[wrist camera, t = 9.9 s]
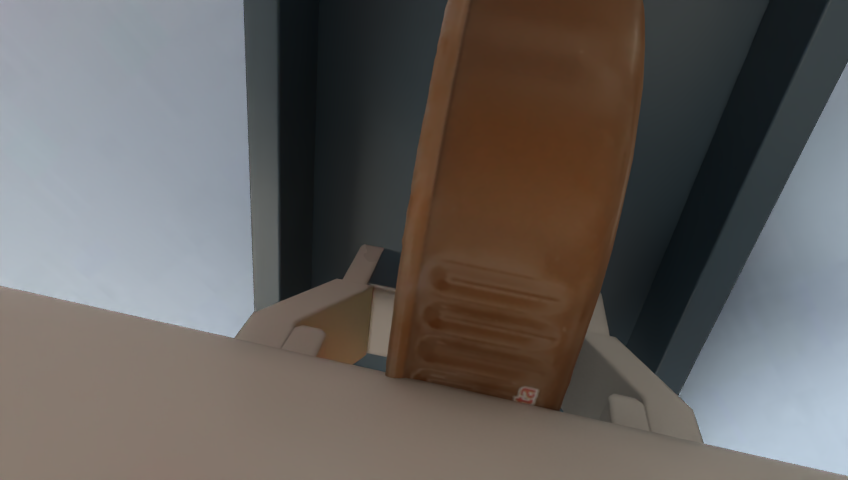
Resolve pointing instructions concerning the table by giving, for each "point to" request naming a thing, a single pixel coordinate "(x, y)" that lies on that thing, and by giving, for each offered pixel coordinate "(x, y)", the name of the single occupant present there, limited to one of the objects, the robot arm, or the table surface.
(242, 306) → the table surface
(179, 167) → the table surface
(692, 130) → the tray
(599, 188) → the tin
